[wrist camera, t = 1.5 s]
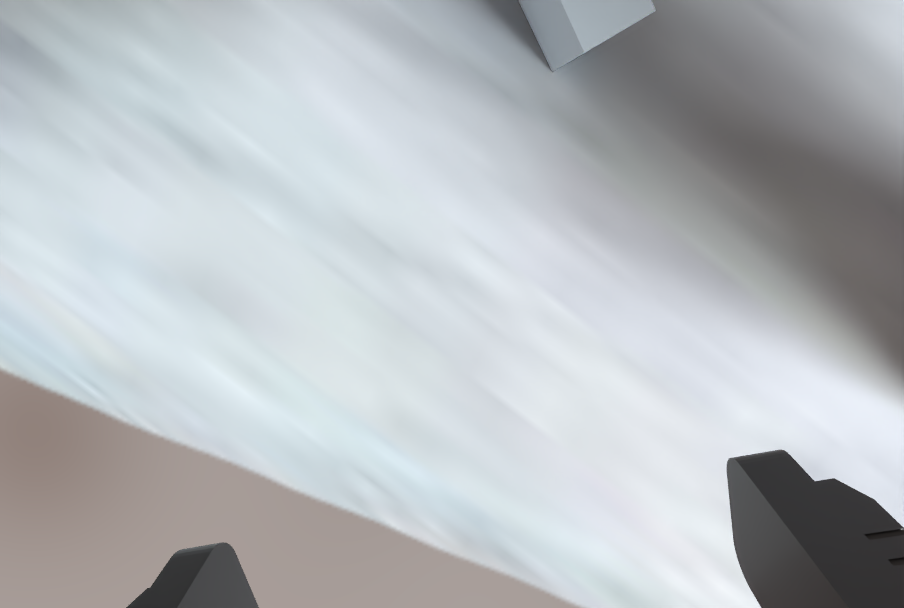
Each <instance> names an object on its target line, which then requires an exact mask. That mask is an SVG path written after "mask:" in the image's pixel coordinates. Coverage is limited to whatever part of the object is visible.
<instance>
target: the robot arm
mask: <svg viewBox="0 0 904 608" xmlns="http://www.w3.org/2000/svg"><path fill="white" fill-rule="evenodd" d="M727 478H728V489H729V499H730V509H731V519H732V530H733V539H734V546H735V550H736V554H737V558H738V561H739V564H740V567H741V570H742V572H743V575H744V577H745V579H746V581H747V583H748V585H749V587H750V589H751V591H752V592H753V594H754V596H755V597H756V599H757V601H758V603H759V604H760V606H761V608H904V528H903V527H902V526H901V525H900V524H899V523H898V522H897V521H896V520H895V519H894V518H893V517H892V516H891V515H890V514H889V513H888V512H887V511H886V510H885V509H883V508H882V507H881V506H880V505H879V504H878V503H877V502H876V501H875V500H874V499H872V498H870V497H868V496H866V495H865V494H863V493H861V492H859V491H857V490H855V489H853V488H851V487H849V486H847V485H846V484H844V483H842V482H840V481H838V480H836V479H827V480H821V481H814V480H813V479H812V478H811V477H810V476H809V475H808V474H807V473H806V472H805V471H804V470H803V468H802V467H801V466H800V465H799V464H798V463H797V462H796V461H795V460H794V459H793V458H792V457H791V456H790V455H789V454H788V453H787V452H786V451H784V450H775V451H769V452H764V453H758V454H752V455H746V456H740V457H734V458H730V459H729V460H728V462H727ZM127 608H259V607H258V605H257V603H256V600H255V598H254V595H253V593H252V591H251V588H250V586H249V584H248V581H247V579H246V577H245V574H244V572H243V569H242V567H241V565H240V563H239V560H238V558H237V555H236V553H235V551H234V549H233V548H232V547H231V546H230V545H229V544H228V543H217V544H211V545H205V546H199V547H194V548H187V549H182V550H179V551H177V552H176V553H175V554H174V555H173V556H172V557H171V558H170V560H169V561H168V563H167V564H166V566H165V567H164V568H163V570H162V571H161V573H160V574H159V576H158V577H157V579H156V580H155V582H154V583H153V585H152V586H151V587H150V588H147V589H146V590H145V591H144V592H143V593H142V594H141V595H140V596H138V597H137V598H136V599H135V600H134V601H133V602H132V603H131V604H130V605H129V606H128V607H127Z"/></svg>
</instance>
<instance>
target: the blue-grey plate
mask: <svg viewBox="0 0 904 608" xmlns="http://www.w3.org/2000/svg"><path fill="white" fill-rule="evenodd" d="M518 1H519V3H520V6H521V8H522V10H523V12H524V14H525V16H526V18H527V20H528V22H529V24H530V26H531V28H532V31H533V33H534V35H535V37H536V39H537V41H538V43H539V45H540V47H541V49H542V51H543V54H544V56H545V58H546V60H547V62H548V64H549V66H550V68H551V70H552V72H553V71H555V70H556V69H558V68H560V67H562V66H563V65H565V64H567V63H568V62H570V61H572V60H574V59H575V58H577V57H579V56H580V55H582V54H584V53H586V52H587V51H589V50H591V49H592V48H594V47H596V46H597V45H599V44H601V43H602V42H604V41H606V40H608V39H609V38H611V37H613V36H614V35H616V34H618V33H619V32H621V31H623V30H624V29H626V28H628V27H630V26H631V25H633V24H635V23H636V22H638V21H640V20H641V19H643V18H645V17H646V16H648V15H650V14H651V13H653V12H655V11H656V9H655V7H654V4H653V2H652V0H518Z"/></svg>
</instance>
